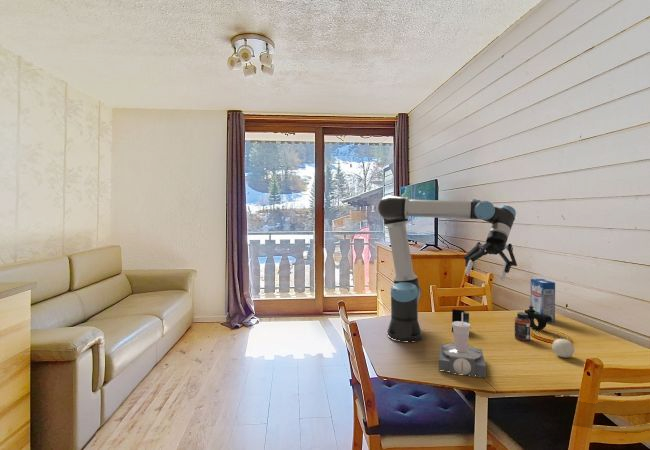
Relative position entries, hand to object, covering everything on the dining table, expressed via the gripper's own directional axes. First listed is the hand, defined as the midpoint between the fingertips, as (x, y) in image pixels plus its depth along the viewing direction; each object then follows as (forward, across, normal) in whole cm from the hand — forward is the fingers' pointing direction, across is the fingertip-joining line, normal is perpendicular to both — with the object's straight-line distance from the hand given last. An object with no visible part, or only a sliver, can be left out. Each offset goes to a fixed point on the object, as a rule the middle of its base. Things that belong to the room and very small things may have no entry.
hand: (483, 276), depth 132 cm
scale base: (+34, 0, -8) cm, 35 cm away
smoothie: (+30, +1, -5) cm, 31 cm away
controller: (-8, -7, -52) cm, 53 cm away
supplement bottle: (+4, -6, -39) cm, 40 cm away
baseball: (+10, -23, -34) cm, 42 cm away
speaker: (+10, +17, -33) cm, 38 cm away
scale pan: (+31, 0, -5) cm, 31 cm away
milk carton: (-21, -4, -65) cm, 68 cm away
